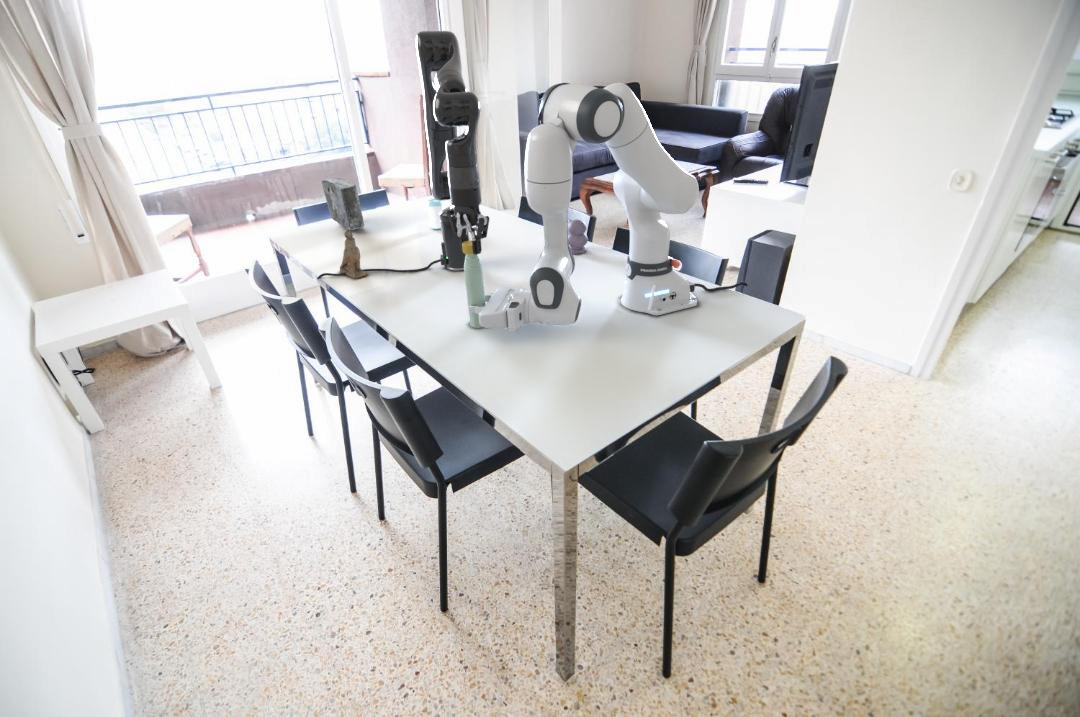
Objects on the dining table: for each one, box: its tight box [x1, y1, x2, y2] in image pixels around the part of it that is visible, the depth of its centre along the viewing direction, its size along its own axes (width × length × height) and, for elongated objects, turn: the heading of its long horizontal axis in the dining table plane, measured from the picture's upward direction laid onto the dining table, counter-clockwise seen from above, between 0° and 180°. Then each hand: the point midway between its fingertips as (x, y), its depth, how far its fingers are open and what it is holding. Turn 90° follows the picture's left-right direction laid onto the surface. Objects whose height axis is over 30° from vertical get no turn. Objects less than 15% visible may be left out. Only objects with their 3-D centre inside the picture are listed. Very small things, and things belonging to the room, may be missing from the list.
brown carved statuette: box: [339, 230, 367, 280], centre depth 174 cm, size 12×6×18 cm, turn 43°
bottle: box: [463, 254, 487, 329], centre depth 135 cm, size 5×5×23 cm
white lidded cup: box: [426, 198, 445, 230], centre depth 220 cm, size 7×7×12 cm
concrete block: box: [321, 177, 365, 231], centre depth 223 cm, size 27×9×20 cm, turn 36°
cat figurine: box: [567, 218, 589, 255], centre depth 187 cm, size 9×8×12 cm
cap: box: [462, 239, 473, 254], centre depth 130 cm, size 4×4×2 cm
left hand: (471, 251), depth 130 cm, fingers closed on cap, 4 cm apart
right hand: (473, 303), depth 138 cm, fingers closed on bottle, 5 cm apart
